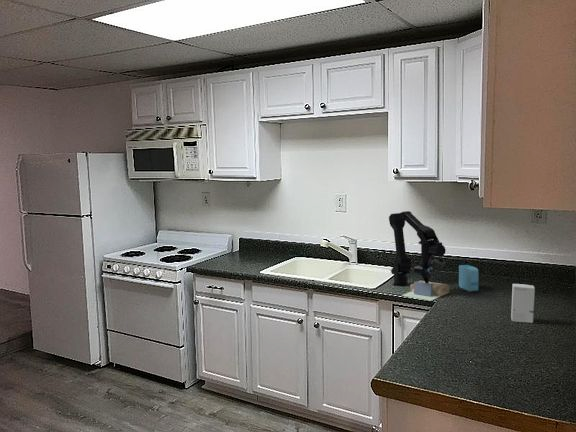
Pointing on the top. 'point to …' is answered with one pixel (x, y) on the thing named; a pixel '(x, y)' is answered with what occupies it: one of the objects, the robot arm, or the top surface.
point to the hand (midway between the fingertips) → (427, 283)
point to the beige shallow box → (435, 288)
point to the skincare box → (522, 303)
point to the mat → (420, 296)
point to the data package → (468, 278)
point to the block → (423, 288)
